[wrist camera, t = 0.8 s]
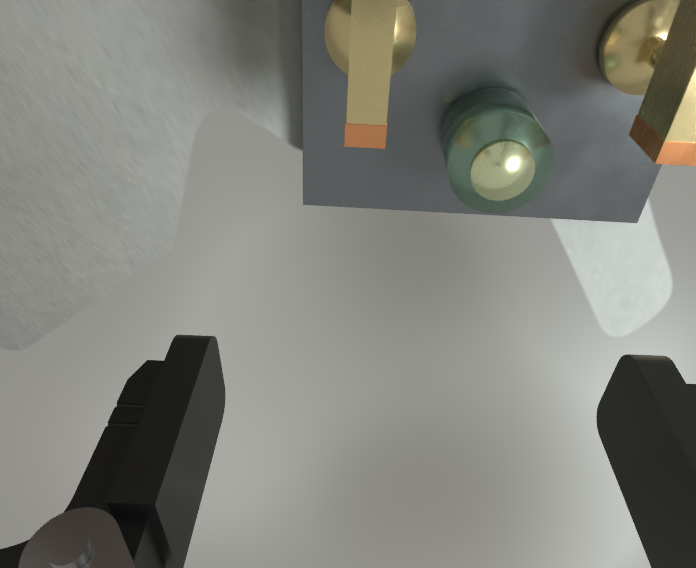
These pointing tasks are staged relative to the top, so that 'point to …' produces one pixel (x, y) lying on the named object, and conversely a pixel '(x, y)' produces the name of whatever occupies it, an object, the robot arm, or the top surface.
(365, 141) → the knob
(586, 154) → the base plate
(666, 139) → the knob
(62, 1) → the top surface
